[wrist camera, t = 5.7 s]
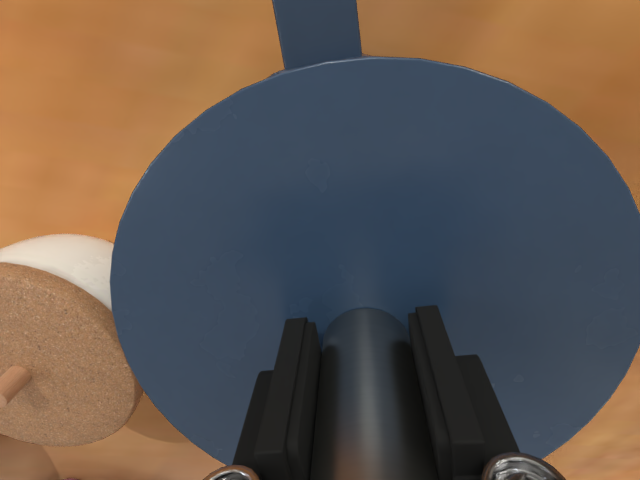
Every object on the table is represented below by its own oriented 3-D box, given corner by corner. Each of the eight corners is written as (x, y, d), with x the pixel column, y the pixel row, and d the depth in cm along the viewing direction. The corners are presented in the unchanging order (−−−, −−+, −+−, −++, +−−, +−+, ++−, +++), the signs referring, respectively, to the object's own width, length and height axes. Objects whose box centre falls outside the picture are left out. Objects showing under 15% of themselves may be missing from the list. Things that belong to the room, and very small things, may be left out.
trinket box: (67, 168, 22) (-102, 242, 14) (224, 278, 25) (163, 395, 16) (1, 288, 26) (-162, 403, 18) (143, 372, 29) (59, 506, 20)
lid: (676, -2, 8) (1343, -117, 3) (591, 466, 14) (746, 729, 9) (45, 111, 10) (-323, 178, 5) (205, 482, 16) (129, 706, 11)
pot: (476, -38, 17) (583, -109, 9) (474, 317, 25) (532, 435, 17) (179, 21, 19) (66, 1, 11) (267, 337, 27) (236, 452, 19)
